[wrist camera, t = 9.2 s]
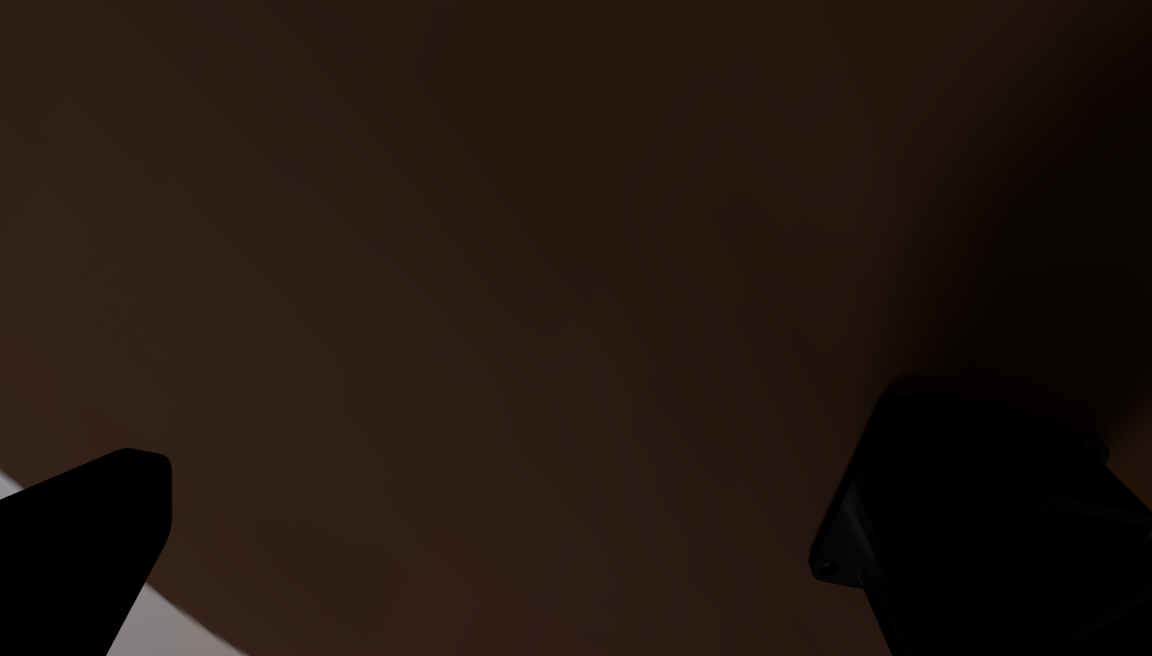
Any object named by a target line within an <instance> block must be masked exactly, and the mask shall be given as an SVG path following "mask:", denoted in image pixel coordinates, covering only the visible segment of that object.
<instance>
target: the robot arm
mask: <svg viewBox="0 0 1152 656" xmlns="http://www.w3.org/2000/svg"><path fill="white" fill-rule="evenodd" d="M898 411H904V413H903V415H902V416H900V417H898V418H891V417H892V416H893V414H894V413H896V412H898ZM1090 449H1091V450H1090ZM1089 450H1090V451H1089ZM1109 455H1110V453H1109V448H1108V447H1107V446H1106V444H1105V443H1103V442H1102V441H1101V440H1100V439H1099V438H1098V437H1097V436H1095V435H1093V434H1090V433H1085V432H1080V431H1075V430H1070V429H1067V428H1066V427H1065V426H1064V425H1063V424H1062V423H1061V422H1059V421H1057V420H1053V419H1048V418H1043V417H1038V416H1033V415H1028V414H1023V413H1018V412H1014V411H1009V410H1004V409H999V408H994V407H989V406H984V405H979V404H974V405H969V406H966V407H964V408H962V407H957V406H953V405H948V404H943V403H938V402H933V401H928V400H923V399H918V398H913V397H908V396H903V395H894V396H891V397H888V398H886V399H885V400H884V401H882V402H881V404H880V405H879V406H878V408H877V410H876V413H875V415H874V417H873V419H872V421H871V424H870V426H869V428H868V430H867V432H866V434H865V437H864V439H863V441H862V443H861V445H860V447H859V450H858V452H857V454H856V456H855V458H854V461H853V463H852V465H851V467H850V469H849V471H848V474H847V476H846V478H845V480H844V482H843V484H842V487H841V489H840V491H839V493H838V495H837V498H836V500H835V502H834V504H833V506H832V508H831V511H830V513H829V515H828V517H827V519H826V521H825V524H824V526H823V528H822V530H821V532H820V535H819V537H818V539H817V541H816V543H815V545H814V548H813V550H812V552H811V554H810V556H809V561H808V563H809V565H810V568H811V571H812V574H813V576H814V577H815V578H816V579H817V580H820V581H823V582H828V583H834V584H839V585H844V586H850V587H855V588H861V589H864V591H865V594H866V596H867V598H868V601H869V603H870V605H871V608H872V610H873V612H874V615H875V617H876V619H877V622H878V624H879V626H880V629H881V631H882V633H883V636H884V638H885V640H886V643H887V645H888V647H889V650H890V652H891V654H892V656H1152V511H1151V510H1150V509H1149V508H1148V507H1147V506H1146V505H1144V504H1143V503H1142V502H1141V501H1140V500H1139V499H1138V498H1137V497H1136V496H1135V495H1134V494H1133V493H1132V492H1131V491H1130V490H1129V489H1128V488H1127V487H1126V486H1125V485H1124V484H1123V483H1122V482H1121V481H1120V480H1119V479H1118V478H1117V477H1116V476H1115V475H1114V474H1113V473H1112V472H1111V471H1110V470H1109V469H1108V468H1107V467H1106V466H1105V463H1106V461H1107V460H1108V457H1109ZM171 524H172V468H171V463H170V461H169V459H168V458H167V457H166V456H164V455H162V454H158V453H153V452H148V451H143V450H138V449H133V448H123V449H119V450H116V451H114V452H111V453H109V454H107V455H104V456H102V457H100V458H97V459H95V460H93V461H90V462H88V463H86V464H83V465H81V466H78V467H76V468H74V469H71V470H69V471H67V472H64V473H62V474H60V475H57V476H55V477H52V478H50V479H48V480H45V481H43V482H41V483H38V484H36V485H34V486H31V487H29V488H27V489H24V490H22V491H19V492H17V493H15V494H13V495H10V496H8V497H5V498H3V499H1V500H0V656H106V655H107V653H108V651H109V649H110V647H111V645H112V643H113V642H114V640H115V638H116V636H117V634H118V632H119V630H120V629H121V626H122V625H123V623H124V621H125V619H126V617H127V615H128V613H129V612H130V610H131V607H132V606H133V604H134V602H135V600H136V598H137V596H138V595H139V593H140V591H141V589H142V587H143V585H144V583H145V581H146V580H147V578H148V576H149V574H150V572H151V570H152V568H153V566H154V565H155V563H156V561H157V559H158V557H159V555H160V553H161V551H162V550H163V548H164V546H165V544H166V541H167V539H168V536H169V533H170V529H171ZM826 563H831V564H830V565H828V566H822V565H824V564H826Z"/></svg>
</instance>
